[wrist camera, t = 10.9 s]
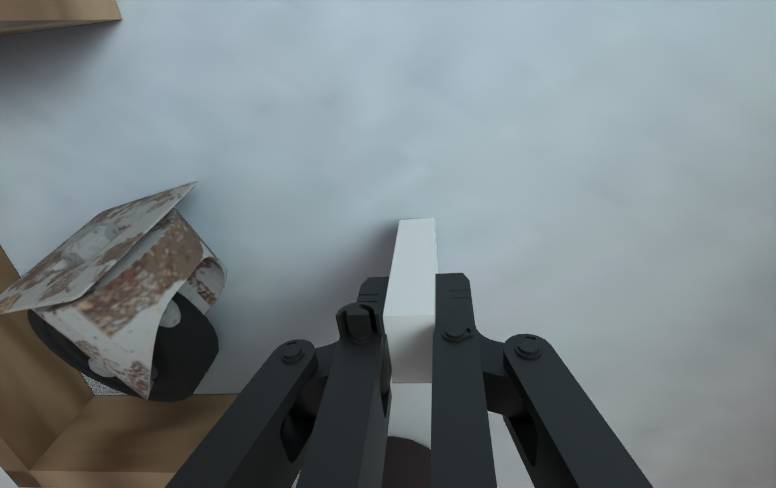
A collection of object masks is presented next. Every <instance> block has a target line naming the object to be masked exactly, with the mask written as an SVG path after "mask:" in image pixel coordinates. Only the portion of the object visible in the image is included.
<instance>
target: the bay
mask: <svg viewBox="0 0 776 488" xmlns="http://www.w3.org/2000/svg"><path fill="white" fill-rule="evenodd" d="M120 19H122V18H121V15H120V12H119V9H118V7H117V4H116V1H115V0H0V36H6V35H13V34H20V33H28V32H35V31H42V30H49V29H56V28H63V27H70V26H77V25H85V24H92V23H99V22H106V21H113V20H120ZM19 279H20V276H19V275H18V273H17V271H16V270H15V268H14V267H13V265H12V263H11V262H10V260H9V259H8V257H7V256H6V254H5V252H4V251H3V249H2V248H1V246H0V294H2V293H3V292H4V291H5V290H7V289H8V288H9V287H10V286H11V285H13V284H14V283H15V282H16V281H18V280H19ZM27 311H28V309H26V310H20V311H15V312H9V313H4V314H0V466H1V467H2V469H3V470H4V471H5V472H6V473H7V474H8V475H9V477H10V478H11V479H12V480H13V481H14V482H15V483H16V485H17V486H18V487H31V488H164V487H165V486H166V485H167V484H168V483H169V481H170V480H171V479H172V478H173V476H174V475H175V474H176V473H177V471H178V470H179V469H180V468H181V466H182V465H183V464H184V463H185V461H186V460H187V459H188V458H189V456H190V455H191V454H192V453H193V451H194V450H195V449H196V448H197V446H198V445H199V444H200V443H201V441H202V440H203V439H204V438H205V436H206V435H207V434H208V433H209V431H210V430H211V429H212V428H213V427H214V425H215V424H216V423H217V422H218V420H219V419H220V418H221V417H222V415H223V414H224V413H225V412H226V410H227V409H228V408H229V407H230V405H231V404H232V403H233V402H234V400H235V399H236V398H237V397H238V395H239V394H204V395H191V396H190V397H188V398H187V399H185V400H182V401H177V402H157V401H150V400H146V399H142V398H138V397H135V396H131V395H122V396H94V394H93V392H92V391H91V389H90V388H89V386H88V385H87V383H86V381H85V380H84V378H83V377H82V375H81V373H80V372H79V371H78V370H77V369H75V368H73V367H72V366H70V365H69V364H68V363H66V362H65V361H64V360H62V359H61V358H60V357H59V356H57V355H56V354H55V353H54V352H52V351H51V350H50V349H49V348H48V347H47V346H46V345H45V344H44V343H43V342H42V341H41V340H40V339H39V338H38V337H37V335H36V334H35V332H34V331H33V329H32V327H31V326H30V323H29V320H28V315H27Z"/></svg>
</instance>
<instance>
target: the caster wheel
mask: <svg viewBox="0 0 776 488" xmlns="http://www.w3.org/2000/svg"><path fill="white" fill-rule="evenodd" d="M196 183H197V181H196V182H192V183H189V184H186V185H183V186H180V187H177V188H173V189H170V190H167V191H164V192H161V193H158V194H155V195H152V196H149V197H145V198H142V199H139V200H136V201H133V202H130V203H127V204H124V205H121V206H118V207H114V208H111V209H108V210H105V211H103V212H101V213H100V214H98V215H97V216H96V217H94V218H93V219H92V220H91V221H90V222H88V223H87V224H86V225H85V226H83V227H82V228H81V229H80V230H79V231H77V232H76V233H75V234H74V235H72V236H71V237H70V238H69V239H68V240H66V241H65V242H64V243H63V244H61V245H60V246H59V247H58V248H57V249H55V250H54V251H53V252H52V253H50V254H49V255H48V256H47V257H46V258H44V259H43V260H42V261H41V262H39V263H38V264H37V265H36V266H35V267H33V268H32V269H31V270H30V271H29V272H27V273H26V274H25V275H24V276H22V277H21V278H20V279H19V280H18V281H16V282H15V283H14V284H13V285H11V286H10V287H9V288H8V289H7V290H5V291H4V292H3V293H2V294H0V314H4V313H9V312H15V311H20V310H26V309H28V311H27V315H28V320H29V323H30V326H31V327H32V329H33V331H34V332H35V334H36V335H37V337H38V338H39V339H40V340H41V341H42V342H43V343H44V344H45V345H46V346H47V347H48V348H49V349H50V350H51V351H52V352H54V353H55V354H56V355H57V356H59V357H60V358H61V359H62V360H64V361H65V362H66V363H68V364H69V365H70V366H72V367H73V368H75V369H77V370H78V371H80V372H82V373H83V374H85V375H87V376H88V377H90V378H92V379H94V380H96V381H98V382H100V383H102V384H104V385H106V386H108V387H110V388H113V389H115V390H118V391H120V392H123V393H125V394H128V395H131V396H135V397H138V398H142V399H146V400H150V401H157V402H177V401H182V400H185V399H187V398H188V397H190V396H191V395H192V394H193V392H194V391H195V389H196V388H197V386H198V385H199V383H200V381H201V380H202V378H203V377H204V375H205V374H206V372H207V370H208V369H209V367H210V366H211V364H212V362H213V360H214V359H215V357H216V355H217V353H218V349H219V348H218V338H217V335H216V333H215V331H214V329H213V327H212V325H211V324H210V322H209V321H208V319H207V318H206V317H205V316H204V315H205V314H206V313H207V311H208V310H209V309H210V308H211V307H212V306H213V304H214V303H215V302H216V301H217V299H218V297H219V296H220V294H221V292H222V290H223V288H224V287H225V283H226V277H227V274H226V270H225V268H224V266H223V264H222V263H221V262H220V260H219V259H218V258H217V257H216V256H215V255H214V253H213V252H212V251H211V250H210V249H209V248H208V246H207V245H206V244H205V243H204V242H203V240H202V239H201V238H200V237H199V236H198V235H197V233H196V232H195V231H194V230H193V229H192V228H191V226H190V225H189V224H188V223H187V222H186V220H185V219H184V218H183V217H182V216H181V215H180V213H179V212H178V211H177V210H176V209H174V208H173V207H174V206H175V205H176V204H177V203H178V202H179V201H180V200H181V199H182V198H183V197H184V196H186V195H187V194H188V193H189V192H190V191H191V190H192V189H193V188H194V187H195V185H196Z"/></svg>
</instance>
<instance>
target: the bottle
mask: <svg viewBox="0 0 776 488" xmlns="http://www.w3.org/2000/svg"><path fill="white" fill-rule="evenodd" d="M381 488H431V450H430V449H429V448H427V447H425V446H423V445H421V444H419V443H417V442H415V441H412V440H407V439H403V438H398V437H387V442H386V451H385V460H384V469H383V478H382V486H381Z"/></svg>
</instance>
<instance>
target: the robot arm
mask: <svg viewBox="0 0 776 488" xmlns="http://www.w3.org/2000/svg"><path fill="white" fill-rule="evenodd" d="M336 320H337V325H338V329H339V334H340V339H339V341H337V342H335V343H333V344H330V345H327V346H323V347H319V348H314V345H313V344H312V343H311V342H309V341H306V340H298V339H296V340H292V341H288V342H286V343H284V344H282V345H280V346H279V347H278V348H277V349H276V350H275V351H274V352H273V353H272V354H271V356H270V357H269V358H268V359H267V361H266V362H265V363H264V364H263V366H262V367H261V368H260V369H259V370H258V372H257V373H256V374H255V375H254V377H253V378H252V379H251V380H250V382H249V383H248V384H247V385H246V387H245V388H244V389H243V390H242V392H241V393H240V394H239V395H238V397H237V398H236V399H235V400H234V402H233V403H232V404H231V405H230V407H229V408H228V409H227V410H226V412H225V413H224V414H223V415H222V417H221V418H220V419H219V420H218V422H217V423H216V424H215V425H214V427H213V428H212V429H211V430H210V431H209V433H208V434H207V435H206V436H205V438H204V439H203V440H202V441H201V443H200V444H199V445H198V446H197V448H196V449H195V450H194V451H193V453H192V454H191V455H190V456H189V458H188V459H187V460H186V461H185V463H184V464H183V465H182V466H181V468H180V469H179V470H178V471H177V473H176V474H175V475H174V476H173V478H172V479H171V480H170V481H169V483H168V484H167V485H166V486H165V487H164V488H291V486H292V484H293V483H294V481H295V479H296V477H297V475H298V473H299V472H300V470H301V472H300V475H299V479H298V482H297V485H296V488H381V486H382V478H383V469H384V460H385V451H386V442H387V433H388V424H389V415H390V406H391V398H392V396H391V389H390V380H391V375H392V382H393V383H432V419H431V488H497V483H496V476H495V468H494V460H493V452H492V444H491V436H490V428H489V420H488V412H487V410H488V411H491V412H495V413H498V414H502V415H503V419H504V422H505V424H506V426H507V428H508V430H509V432H510V435H511V437H512V439H513V441H514V443H515V445H516V448H517V450H518V452H519V454H520V456H521V459H522V461H523V463H524V465H525V467H526V469H527V472H528V474H529V476H530V478H531V480H532V482H533V485H534V487H535V488H653V487H652V485H651V484H650V482H649V481H648V480H647V478H646V477H645V475H644V474H643V473H642V471H641V470H640V468H639V467H638V466H637V464H636V463H635V461H634V460H633V459H632V457H631V456H630V454H629V453H628V452H627V450H626V449H625V448H624V446H623V445H622V443H621V442H620V441H619V439H618V438H617V436H616V435H615V434H614V432H613V431H612V429H611V428H610V427H609V425H608V424H607V422H606V421H605V420H604V418H603V417H602V415H601V414H600V413H599V411H598V410H597V409H596V407H595V406H594V404H593V403H592V402H591V400H590V399H589V397H588V396H587V395H586V393H585V392H584V390H583V389H582V388H581V386H580V385H579V383H578V382H577V381H576V379H575V378H574V376H573V375H572V374H571V372H570V371H569V369H568V368H567V367H566V365H565V364H564V363H563V361H562V360H561V358H560V357H559V356H558V354H557V353H556V351H555V350H554V349H553V347H552V346H551V345H550V344H549V343H548V342H547V341H546V340H545V339H543V338H541V337H539V336H536V335H531V334H518V335H515V336H512V337H510V338H509V339H508V340H507V341H505V343H501V342H497V341H493V340H490V339H488V338H486V337H484V336H483V335H481V334H480V333H479V332H478V330H477V329H476V326H475V321H474V313H473V305H472V298H471V289H470V281H469V279H468V278H467V277H466V276H465V275H464V274H463V273H447V274H438V260H437V245H436V230H435V218H424V219H407V220H400V221H399V227H398V232H397V238H396V244H395V249H394V255H393V261H392V266H391V272H390V277H371V278H368V279H367V280H366V281H365V282H364V283H363V284H362V285H361V288H360V291H359V296H358V299H357V302H355V303H351V304H348V305H346V306H344V307H343V308H341V309H340V310H339V311H338V313H337V314H336Z"/></svg>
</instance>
